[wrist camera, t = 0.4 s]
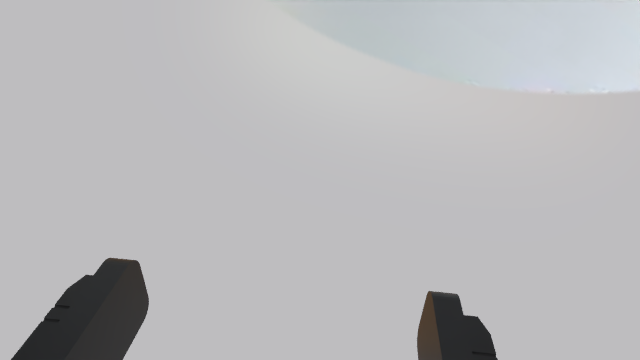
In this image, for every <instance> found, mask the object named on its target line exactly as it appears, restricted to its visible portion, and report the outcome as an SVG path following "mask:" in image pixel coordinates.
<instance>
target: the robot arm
mask: <svg viewBox="0 0 640 360" xmlns="http://www.w3.org/2000/svg"><path fill="white" fill-rule="evenodd" d="M148 305H149V298H148V294H147V290H146V286H145V282H144V278H143V275H142V271H141V267H140V264H139V262H138V261H136V260H127V259H117V258H108V259H106V260H105V261H104V262H103V263H102V265H101V266H100V267H99V269H98V270H97V272H96V273H95V274H94V275H93V276H92V275H85V276H84V277H83V278H81V279H80V280H79V281H77V282H76V283H74V284H73V285H72V286H70V287H69V288H68V289H67V290H66V291H65V292H64V294H63V295H62V296H61V298H60V299H59V300H58V301H57V303H56V304H55V307H54V308H52V309H51V310H50V311H49V313H48V314H47V315H46V316H45V318H44V321H43V322H41V323H40V324H39V325H38V327H37V328H36V329H35V330H34V332H33V333H32V334H31V335H30V337H29V338H28V339H27V340H26V342H25V343H24V344H23V345H22V347H21V348H20V349H19V350H18V352H17V353H16V354H15V355H14V357H13V358H12V359H11V360H123V358H124V356H125V354H126V352H127V351H128V349H129V347H130V345H131V343H132V342H133V340H134V338H135V336H136V334H137V332H138V330H139V329H140V327H141V325H142V323H143V321H144V319H145V317H146V314H147V310H148ZM417 348H418V359H419V360H498V359H497V358H496V352H495V349H494V345H493V342H492V338H491V334H490V333H489V332H488V330H487V329H486V328H485V326H484V325H483V323H482V322H481V321H480V319H479V318H478V317H475V316H465V315H463V311H462V307H461V303H460V299H459V296H458V295H457V294H452V293H443V292H432V291H429V292H428V294H427V297H426V300H425V304H424V309H423V312H422V316H421V320H420V324H419V329H418V337H417Z"/></svg>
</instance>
